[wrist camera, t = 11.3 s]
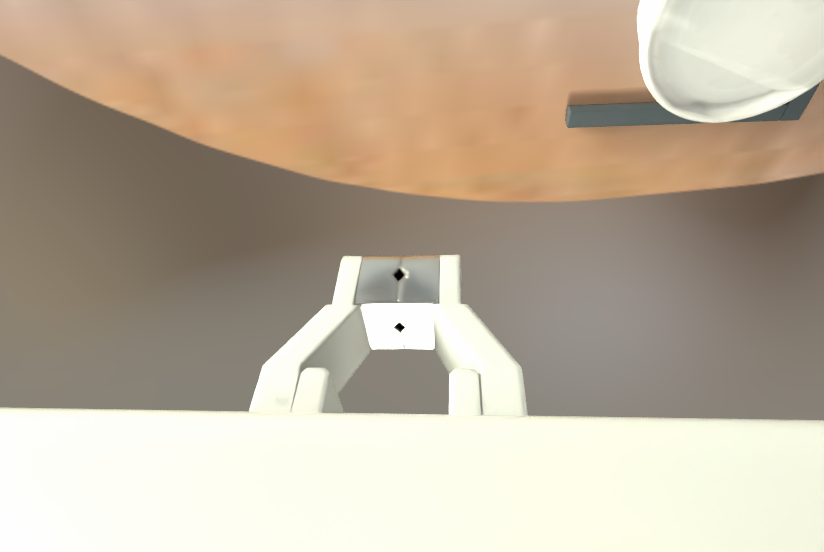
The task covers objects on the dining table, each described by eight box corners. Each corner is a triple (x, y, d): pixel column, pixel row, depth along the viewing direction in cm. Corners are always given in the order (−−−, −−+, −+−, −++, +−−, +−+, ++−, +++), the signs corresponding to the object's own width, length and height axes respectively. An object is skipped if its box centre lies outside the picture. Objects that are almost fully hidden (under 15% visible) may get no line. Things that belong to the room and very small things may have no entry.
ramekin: (616, 101, 33) (637, 143, 29) (622, -96, 25) (652, -72, 21) (805, 58, 30) (854, 99, 26) (878, -177, 22) (961, -164, 19)
